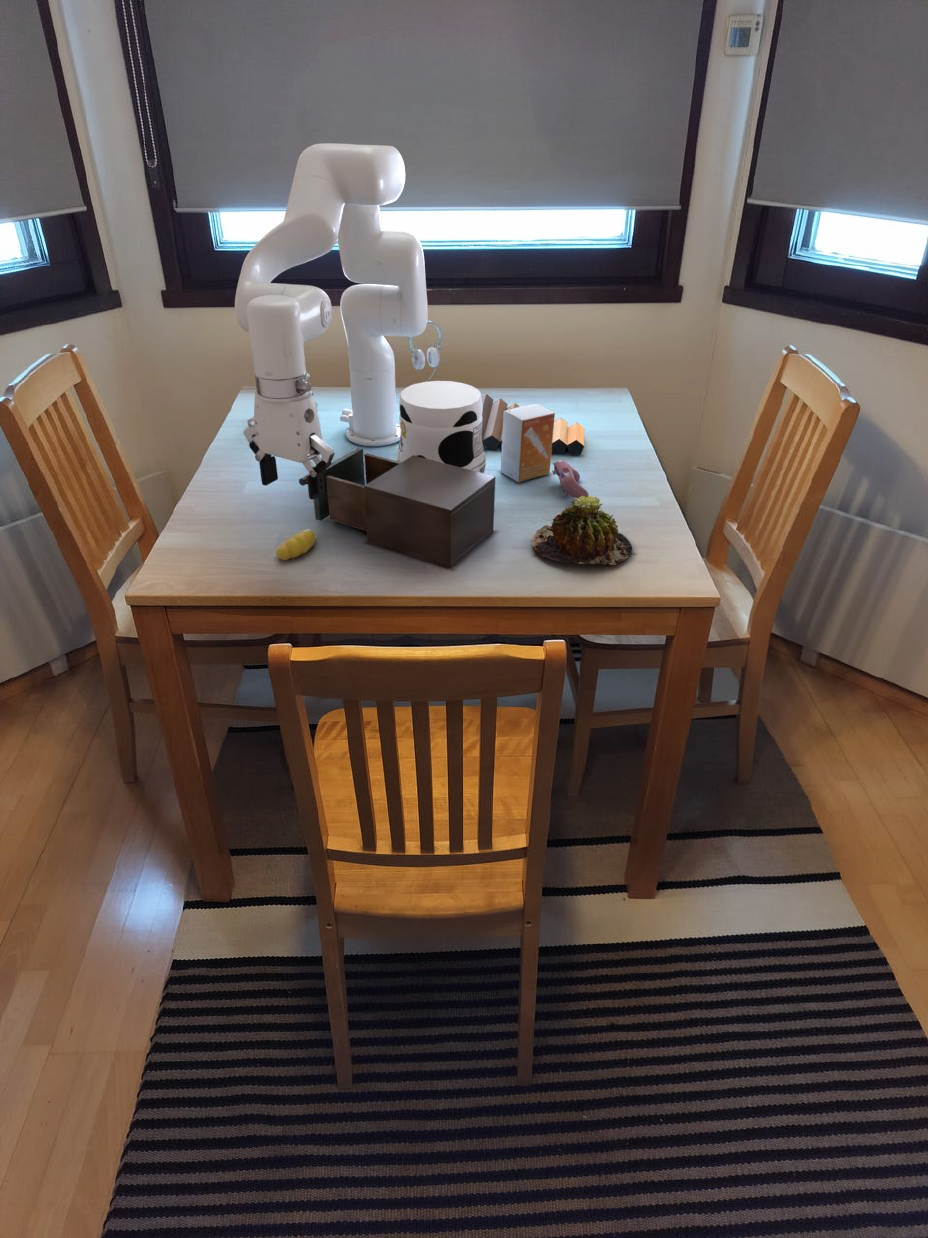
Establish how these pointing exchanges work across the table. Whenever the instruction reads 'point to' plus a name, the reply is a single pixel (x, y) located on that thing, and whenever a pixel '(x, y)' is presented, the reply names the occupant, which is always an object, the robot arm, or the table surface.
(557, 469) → the video game controller
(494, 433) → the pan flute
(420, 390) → the milk container
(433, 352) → the headphones
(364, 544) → the table surface
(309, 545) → the yellow caterpillar toy
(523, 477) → the small box
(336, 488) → the drawer
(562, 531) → the cactus
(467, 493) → the cabinet
